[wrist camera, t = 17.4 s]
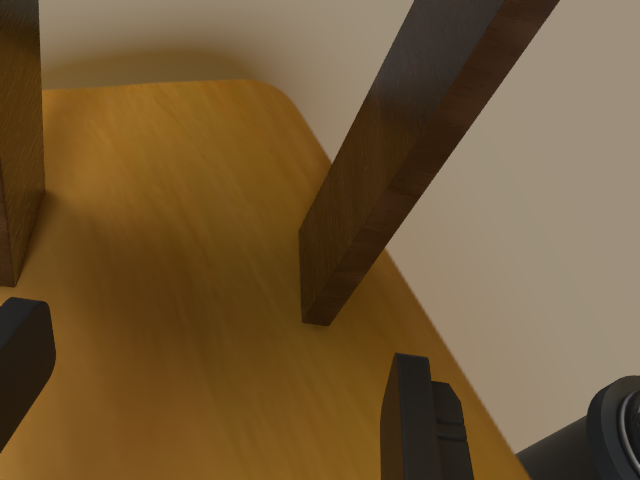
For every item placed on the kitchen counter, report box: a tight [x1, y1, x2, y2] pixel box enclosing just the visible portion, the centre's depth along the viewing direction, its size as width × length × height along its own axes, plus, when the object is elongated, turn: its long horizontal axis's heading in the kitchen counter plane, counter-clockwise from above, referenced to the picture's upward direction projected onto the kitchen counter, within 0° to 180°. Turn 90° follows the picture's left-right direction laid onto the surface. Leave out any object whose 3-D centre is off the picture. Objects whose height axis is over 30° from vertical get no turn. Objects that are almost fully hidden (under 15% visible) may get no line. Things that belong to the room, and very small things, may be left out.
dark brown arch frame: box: [0, 0, 560, 326], centre depth 29 cm, size 22×10×32 cm, turn 92°
